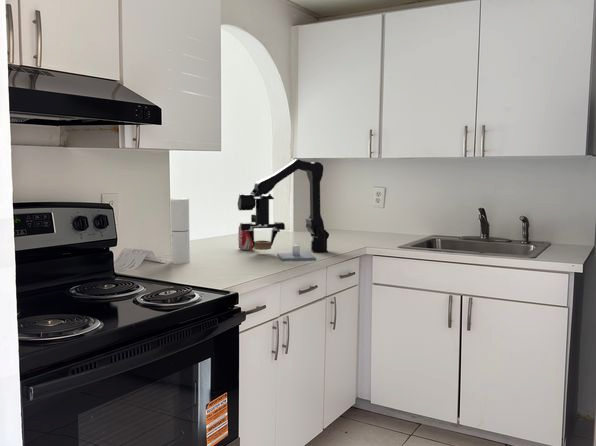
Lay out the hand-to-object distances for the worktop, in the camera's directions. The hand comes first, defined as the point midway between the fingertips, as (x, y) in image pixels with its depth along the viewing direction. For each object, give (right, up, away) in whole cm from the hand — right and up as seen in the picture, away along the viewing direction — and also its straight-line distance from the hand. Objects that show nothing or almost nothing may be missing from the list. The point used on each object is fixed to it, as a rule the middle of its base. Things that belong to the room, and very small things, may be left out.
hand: (262, 246), depth 238 cm
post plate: (+15, -5, -7) cm, 17 cm away
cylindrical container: (-31, -6, -20) cm, 37 cm away
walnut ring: (0, -1, 0) cm, 1 cm away
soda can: (-8, -2, +14) cm, 17 cm away
